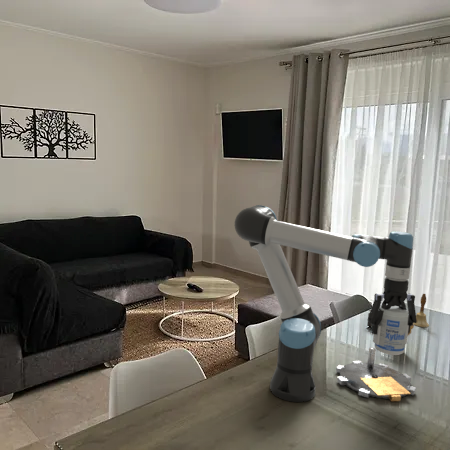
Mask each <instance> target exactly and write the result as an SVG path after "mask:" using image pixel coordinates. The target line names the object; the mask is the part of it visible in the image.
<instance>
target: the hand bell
mask: <svg viewBox="0 0 450 450" xmlns="http://www.w3.org/2000/svg"><path fill="white" fill-rule="evenodd" d="M426 302H427V295H426V293H422V295H421V297H420V309H419V312H416V319H417V322H416V323H413V324H414V326H416V327H421V328H428V327H429V326H430V325H429V322H428V321H427V314H426V313H424V312H425V305H426V304H427V303H426Z"/></svg>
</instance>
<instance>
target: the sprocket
mask: <svg viewBox="0 0 450 450" xmlns="http://www.w3.org/2000/svg"><path fill="white" fill-rule="evenodd" d="M376 350H377V349H376V348H375V347H369V348H368V353H367V362H363V361H361V360H352V362H351V363H348V364H345V365H341V364H339V365H337V366H336V368H335V373H338V374H339V376H337V379H336V381H337V383H338V384H339V385H340V386H346V387H348V388H349V389H351V390H352V391H355V392H357V394H358V396H360V397H364V398H367V399H369V397H372V398H379V399H386V400H387V399H389V401H391V402H401V399H402V398H404V397H406V396H407V395H409V396H410V395H411V396H414V395H415V394H416V393H417V392H416V390H417V387H415V386H413V385H412V384H411V382H412V376H409V375H408V374H407V373H401V372H399V371H398V370H396V369H394V368H391V367H390V366H389V365H387V364H385V363H379V364H377V363H375V360H376V359H375V358H376Z"/></svg>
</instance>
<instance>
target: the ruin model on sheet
mask: <svg viewBox="0 0 450 450" xmlns="http://www.w3.org/2000/svg"><path fill="white" fill-rule="evenodd" d="M368 311H369V312H368V314H367V318H368V317H369V314H370V311H371V309H368ZM367 326H371V327H370V328H372V326H373V324H371V323H370V322H369V321H368V320H367V325H366V327H367Z"/></svg>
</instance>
